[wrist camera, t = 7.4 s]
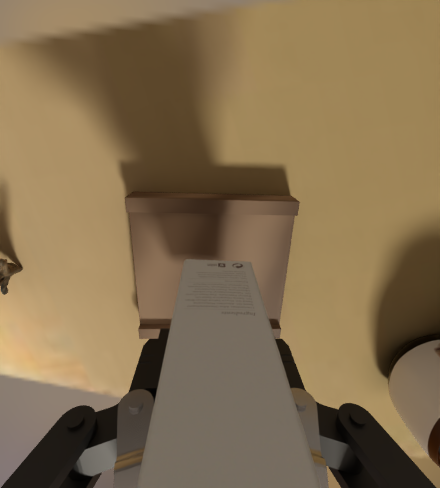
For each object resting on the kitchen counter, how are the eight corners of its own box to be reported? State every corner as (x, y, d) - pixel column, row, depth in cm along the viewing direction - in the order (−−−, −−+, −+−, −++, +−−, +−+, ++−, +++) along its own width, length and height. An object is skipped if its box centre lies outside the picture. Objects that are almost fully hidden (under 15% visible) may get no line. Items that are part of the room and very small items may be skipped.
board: (290, 195, 20) (299, 201, 18) (274, 322, 25) (279, 338, 23) (133, 192, 20) (124, 197, 18) (145, 322, 24) (139, 338, 22)
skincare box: (182, 256, 16) (122, 523, 5) (251, 259, 16) (341, 518, 5) (182, 336, 18) (140, 640, 7) (242, 337, 19) (292, 633, 8)
